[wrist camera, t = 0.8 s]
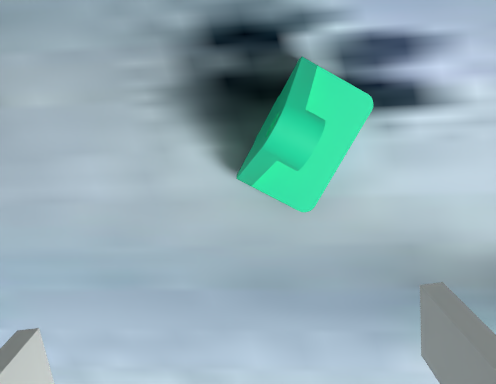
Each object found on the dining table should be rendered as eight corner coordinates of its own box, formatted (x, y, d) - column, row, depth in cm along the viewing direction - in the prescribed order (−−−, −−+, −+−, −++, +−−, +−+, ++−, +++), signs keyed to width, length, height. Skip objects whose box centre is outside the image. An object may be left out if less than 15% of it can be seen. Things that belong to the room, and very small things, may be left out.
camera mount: (305, 208, 41) (324, 246, 31) (237, 172, 40) (234, 200, 30) (369, 99, 39) (412, 102, 29) (298, 58, 38) (317, 48, 28)
